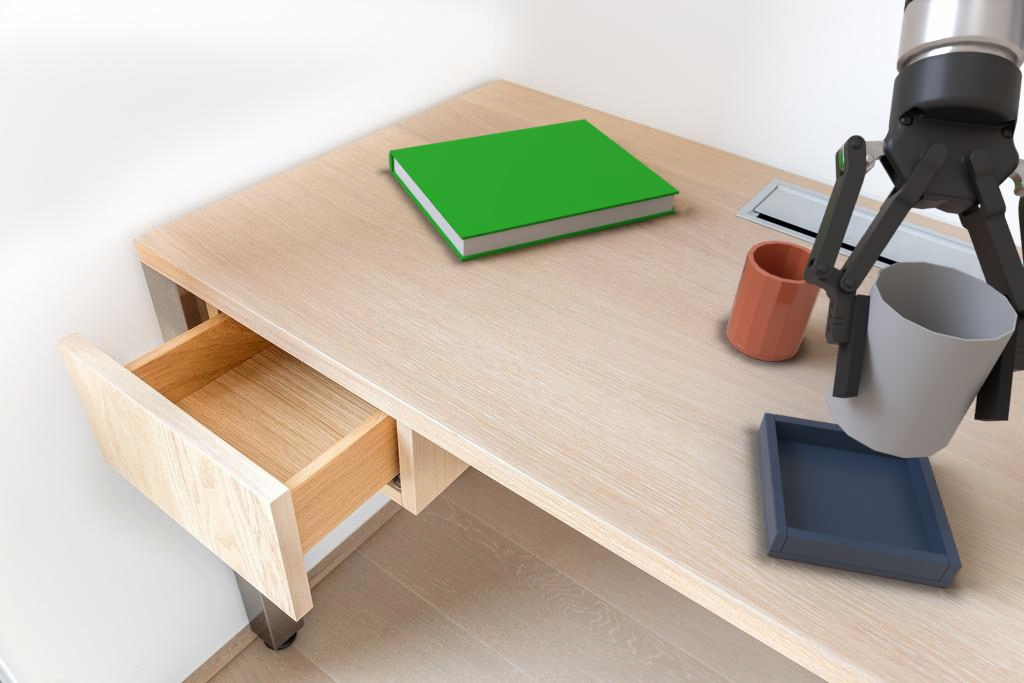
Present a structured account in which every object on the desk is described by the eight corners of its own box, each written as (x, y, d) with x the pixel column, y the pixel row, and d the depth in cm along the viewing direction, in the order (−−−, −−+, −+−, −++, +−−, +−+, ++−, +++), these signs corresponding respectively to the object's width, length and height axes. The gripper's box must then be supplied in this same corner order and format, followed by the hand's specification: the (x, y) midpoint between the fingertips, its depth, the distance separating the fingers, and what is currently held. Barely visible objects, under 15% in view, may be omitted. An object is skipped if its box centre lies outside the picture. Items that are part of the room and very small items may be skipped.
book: (674, 213, 96) (679, 191, 94) (461, 261, 85) (462, 237, 84) (580, 137, 111) (582, 117, 110) (389, 170, 101) (388, 148, 99)
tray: (910, 459, 66) (922, 437, 64) (947, 588, 56) (962, 566, 55) (756, 434, 67) (764, 412, 66) (767, 555, 58) (776, 533, 56)
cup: (823, 436, 54) (874, 319, 47) (826, 363, 60) (872, 250, 54) (956, 472, 52) (1028, 355, 46) (945, 392, 58) (1007, 279, 52)
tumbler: (795, 322, 80) (822, 246, 75) (802, 366, 75) (831, 288, 69) (725, 312, 81) (746, 236, 75) (727, 355, 76) (750, 276, 70)
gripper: (1088, 115, 56) (1055, 436, 54) (782, 78, 58) (738, 384, 56) (1166, 66, 48) (1132, 436, 46) (811, 26, 51) (763, 377, 48)
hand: (917, 407), depth 51 cm, fingers closed on cup, 8 cm apart
